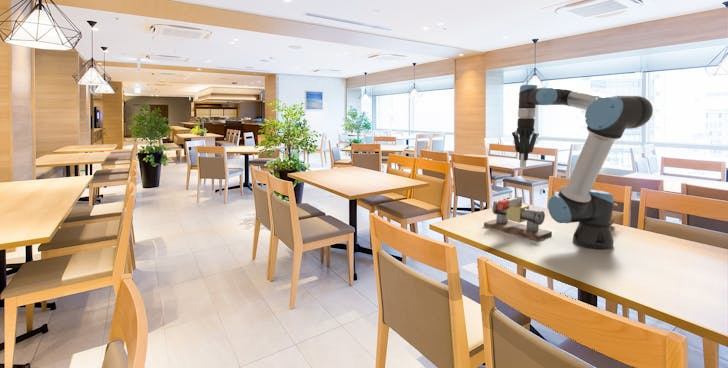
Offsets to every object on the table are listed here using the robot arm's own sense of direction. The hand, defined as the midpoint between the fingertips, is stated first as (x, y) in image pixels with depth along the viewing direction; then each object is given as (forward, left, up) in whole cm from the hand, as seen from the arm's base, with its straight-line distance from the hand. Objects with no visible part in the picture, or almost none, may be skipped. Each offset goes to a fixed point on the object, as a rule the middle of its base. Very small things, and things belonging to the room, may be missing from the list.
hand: (522, 166), depth 190 cm
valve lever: (-5, +17, -17) cm, 24 cm away
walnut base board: (-5, +10, -29) cm, 31 cm away
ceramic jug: (-23, -30, -30) cm, 48 cm away
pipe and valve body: (-5, +10, -27) cm, 30 cm away
